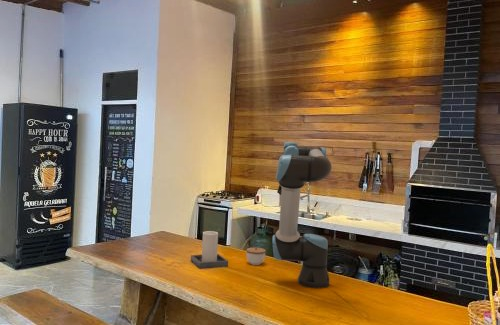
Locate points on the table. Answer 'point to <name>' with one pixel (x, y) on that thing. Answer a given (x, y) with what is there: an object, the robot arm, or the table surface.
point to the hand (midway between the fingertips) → (287, 207)
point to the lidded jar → (255, 255)
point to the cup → (209, 246)
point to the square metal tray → (219, 263)
